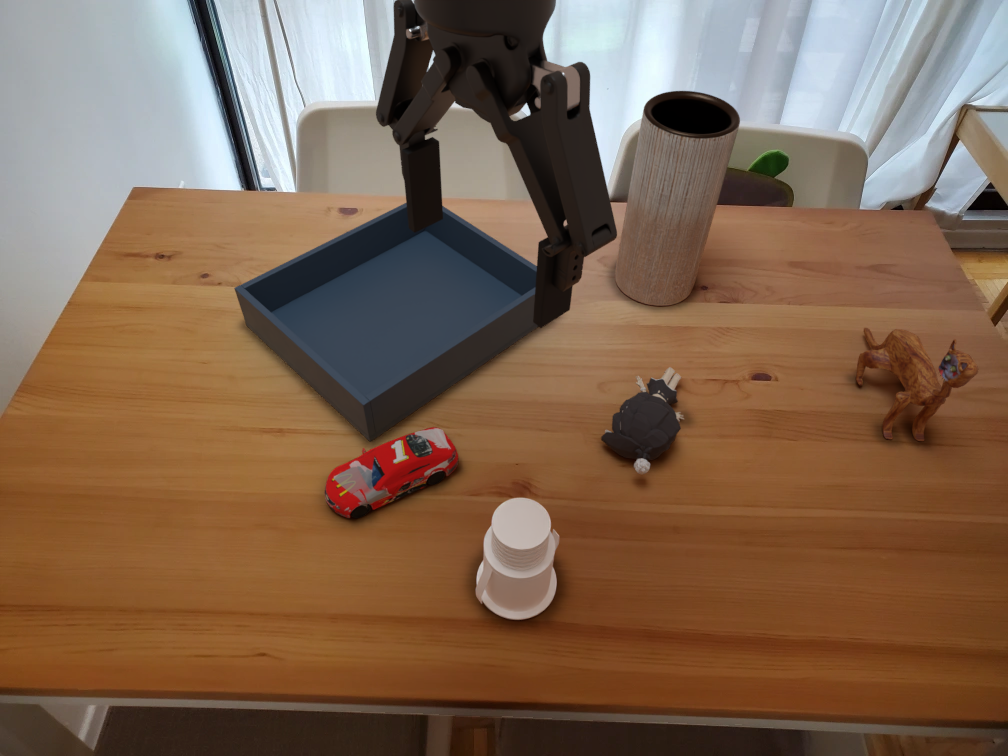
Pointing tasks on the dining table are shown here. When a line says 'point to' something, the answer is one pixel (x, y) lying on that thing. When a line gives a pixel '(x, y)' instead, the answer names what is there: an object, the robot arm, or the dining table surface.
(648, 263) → the planter
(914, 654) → the dining table surface
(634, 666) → the dining table surface
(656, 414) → the figurine
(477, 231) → the tote
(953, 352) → the cat figurine
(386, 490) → the race car
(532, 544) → the downlight
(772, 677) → the dining table surface
